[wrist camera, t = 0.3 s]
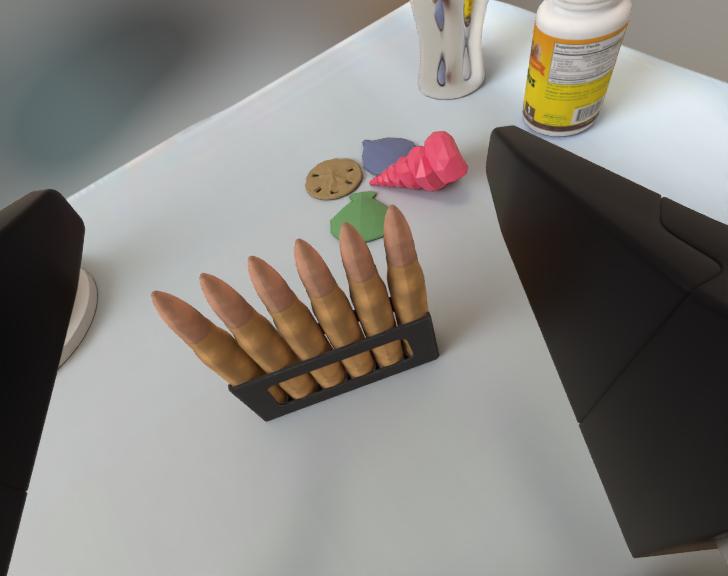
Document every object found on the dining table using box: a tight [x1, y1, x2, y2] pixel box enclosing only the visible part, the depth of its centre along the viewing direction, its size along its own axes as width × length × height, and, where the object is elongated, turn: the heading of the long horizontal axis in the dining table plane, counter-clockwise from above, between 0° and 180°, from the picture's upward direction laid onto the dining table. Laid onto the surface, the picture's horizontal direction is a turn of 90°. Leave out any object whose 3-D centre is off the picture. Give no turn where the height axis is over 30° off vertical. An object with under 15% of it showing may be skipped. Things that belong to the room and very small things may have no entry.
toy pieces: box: [305, 131, 468, 242], centre depth 31 cm, size 12×11×4 cm
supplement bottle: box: [523, 0, 632, 136], centre depth 28 cm, size 6×6×10 cm
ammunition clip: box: [151, 205, 439, 421], centre depth 19 cm, size 11×2×12 cm, turn 107°
